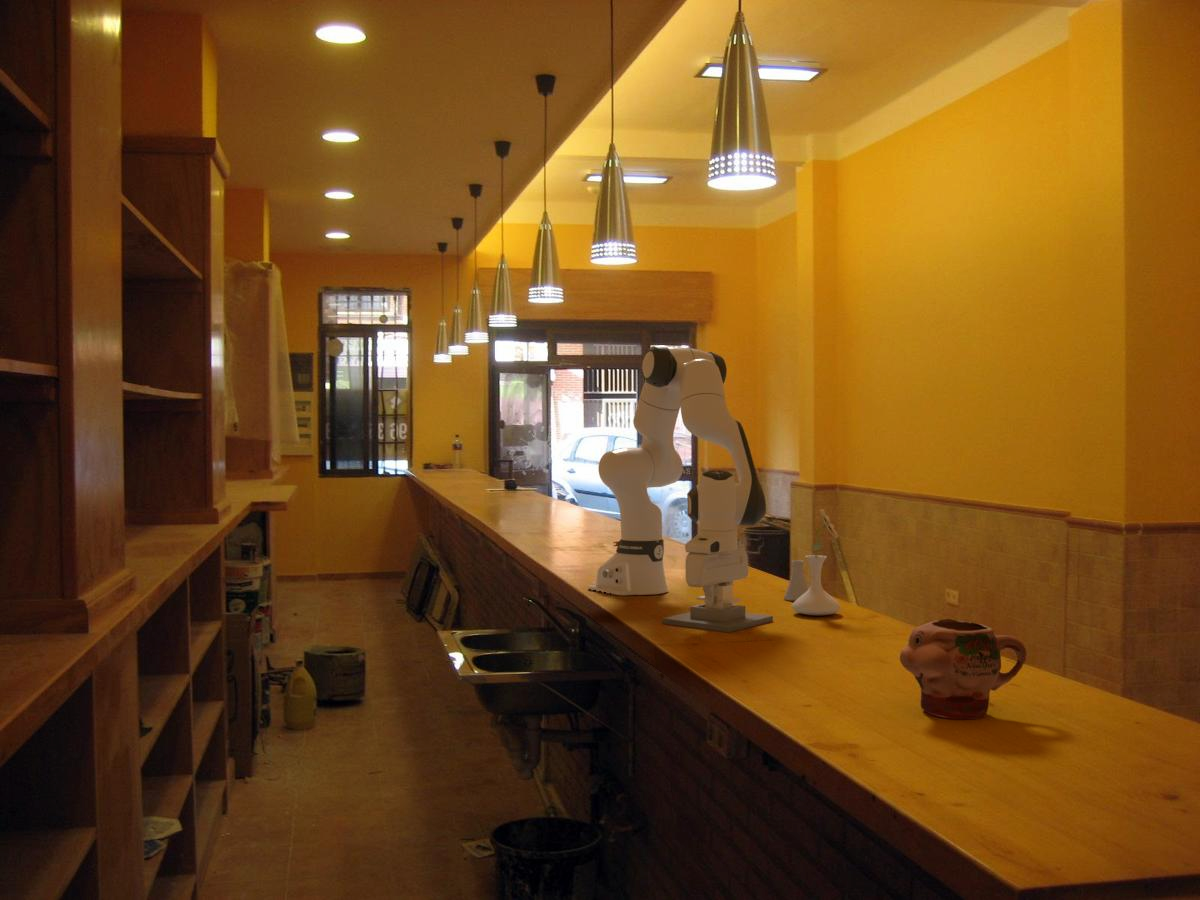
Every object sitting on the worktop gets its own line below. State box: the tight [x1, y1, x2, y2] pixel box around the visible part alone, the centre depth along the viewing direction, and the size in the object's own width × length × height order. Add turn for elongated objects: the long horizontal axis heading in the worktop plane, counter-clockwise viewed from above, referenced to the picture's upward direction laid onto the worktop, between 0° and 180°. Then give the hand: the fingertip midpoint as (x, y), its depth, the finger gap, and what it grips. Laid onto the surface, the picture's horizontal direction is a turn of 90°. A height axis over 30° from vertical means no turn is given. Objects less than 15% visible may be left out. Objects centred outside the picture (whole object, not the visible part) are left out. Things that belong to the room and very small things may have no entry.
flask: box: [783, 559, 809, 602], centre depth 293 cm, size 7×7×10 cm
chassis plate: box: [662, 602, 774, 634], centre depth 260 cm, size 18×18×4 cm
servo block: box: [696, 583, 742, 609], centre depth 260 cm, size 9×4×6 cm, turn 49°
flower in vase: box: [791, 508, 841, 616], centre depth 270 cm, size 13×11×25 cm
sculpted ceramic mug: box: [899, 618, 1027, 720], centre depth 179 cm, size 20×12×14 cm, turn 99°
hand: (718, 602), depth 260 cm, fingers closed on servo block, 4 cm apart
